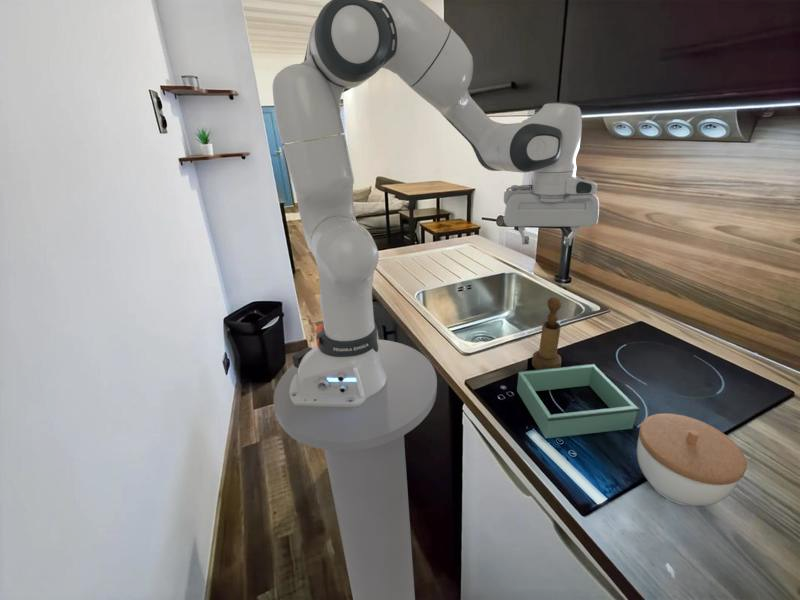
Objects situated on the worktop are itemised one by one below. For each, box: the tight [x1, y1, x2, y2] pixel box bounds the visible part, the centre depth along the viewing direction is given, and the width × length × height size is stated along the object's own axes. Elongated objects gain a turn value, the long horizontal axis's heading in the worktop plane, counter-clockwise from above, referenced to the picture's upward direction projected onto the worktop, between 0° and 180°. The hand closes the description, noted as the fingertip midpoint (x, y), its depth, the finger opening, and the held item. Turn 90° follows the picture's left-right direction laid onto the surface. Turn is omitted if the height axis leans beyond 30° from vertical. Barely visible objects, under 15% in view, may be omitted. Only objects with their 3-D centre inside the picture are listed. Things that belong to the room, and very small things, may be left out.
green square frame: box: [516, 363, 640, 439], centre depth 73 cm, size 17×14×5 cm
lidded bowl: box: [636, 412, 748, 507], centre depth 55 cm, size 13×13×11 cm
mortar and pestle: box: [531, 296, 563, 370], centre depth 85 cm, size 7×6×18 cm
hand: (545, 244), depth 87 cm, fingers open, 8 cm apart
